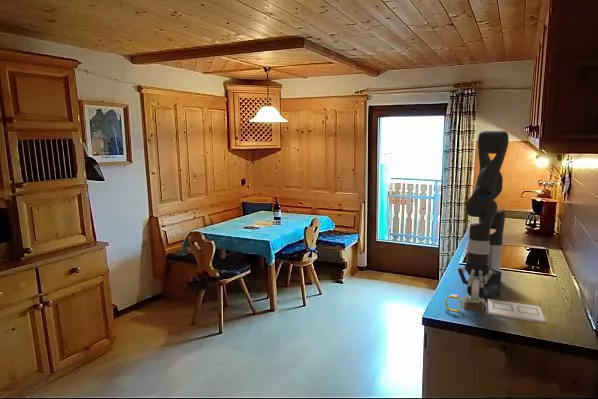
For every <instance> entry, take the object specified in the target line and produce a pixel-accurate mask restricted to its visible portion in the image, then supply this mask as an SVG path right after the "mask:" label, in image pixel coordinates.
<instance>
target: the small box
mask: <svg viewBox="0 0 598 399" xmlns="http://www.w3.org/2000/svg"><path fill="white" fill-rule="evenodd" d="M489 270H491V271H492V272H495V273H496V276H495V277H494V279H493V281H492V282H491V284H490V285H489V287H484V291H483V296H484V297H486V298H488V299H492V298H498V297H501V282H502V272H503V271H501V270H500V271H497V270H494V269H491V268H489ZM488 278H489V273H487V274H486V275H485V276H484V277H483V282H484V283H486V282H487V280H488ZM471 284H472V283H471ZM483 296H482V297H483Z"/></svg>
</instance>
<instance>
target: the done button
mask: <svg viewBox="0 0 598 399" xmlns="http://www.w3.org/2000/svg"><path fill="white" fill-rule="evenodd" d="M467 297H468V302H474V303H481V299H482V298H481V297H479V300H473V299H471V296H467Z"/></svg>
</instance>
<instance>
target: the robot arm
mask: <svg viewBox="0 0 598 399" xmlns="http://www.w3.org/2000/svg"><path fill="white" fill-rule="evenodd" d="M508 148H509V133H508V132H507V131H504V130H482V131H481V132H480V133H479V134H478V137H477V150H478V162H479V172H478V176H477V179H476V183H475V188H474V190H473V192H472V194H471V195H470V196H469V198H468V200H467V203H466V205H465V212H466V214H467V215H468V216H469V217H472V218H473V217H474V218H478V222H476V223H471V224H470V226H469V234H468V241H467V242H468V243H467V249H466V250H467V253H466V264H465V265H464V266H462V267H458V269H457V271H458V275H459V277H460V279H461V282H462V284H463V285H466V286H467V290H466V293H467V295H468V297H471V287H472V286H471V283H472V280H473V276H478V277H479V279H480V290H479V298H481V297H483V291H484V287H489V285H490V284H491V282H492V281H493V279H494V277H495V276H496V273H495V272H492V271H491V270H489V268H491V269H494V270H497V271H500V272H501V263H502V262H501V261H502V254H503V252H502V251H503V236H504V228H505V221H506V212H505V210H503V209H498V204H497V202H496V199H497V197H499V195H500V194H501V193H502V191H503V181H504V180H503V175H502V173H501V168H502V167H503V163H504V160H505V158H506V154H507V151H508ZM490 154H493V155H495V156H493V158H492V159H491V158H490ZM491 230H495V231H494V232H493V233H491ZM465 271H466V273H467V274H468V275H469V276H468V280H467V279H466V276H465ZM487 273H489V278H488V280H487V282H486V283H484V282H483V277H484V276H485V275H486V274H487Z"/></svg>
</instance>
